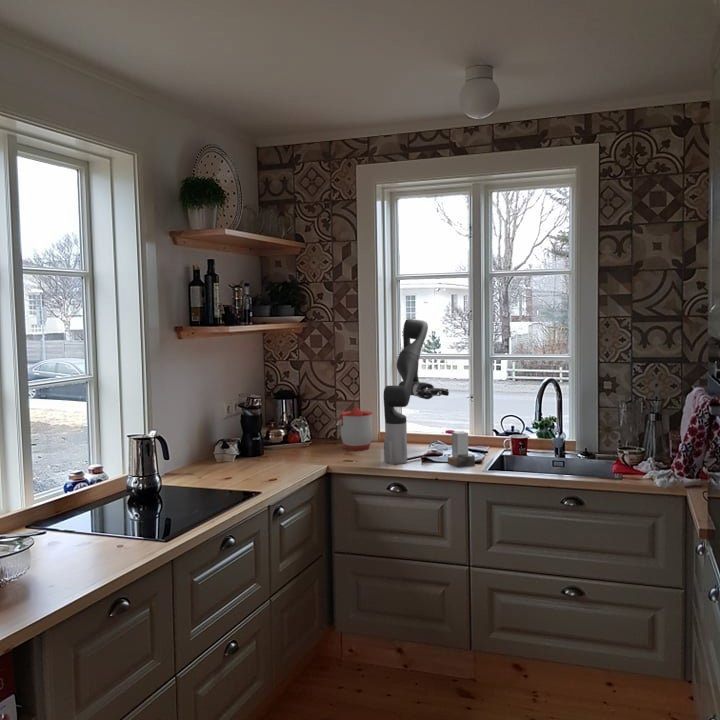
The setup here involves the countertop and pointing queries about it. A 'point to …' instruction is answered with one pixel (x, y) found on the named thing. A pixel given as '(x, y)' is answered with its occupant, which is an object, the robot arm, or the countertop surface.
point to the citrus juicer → (356, 429)
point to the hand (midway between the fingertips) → (439, 393)
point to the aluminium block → (459, 444)
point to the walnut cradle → (462, 461)
